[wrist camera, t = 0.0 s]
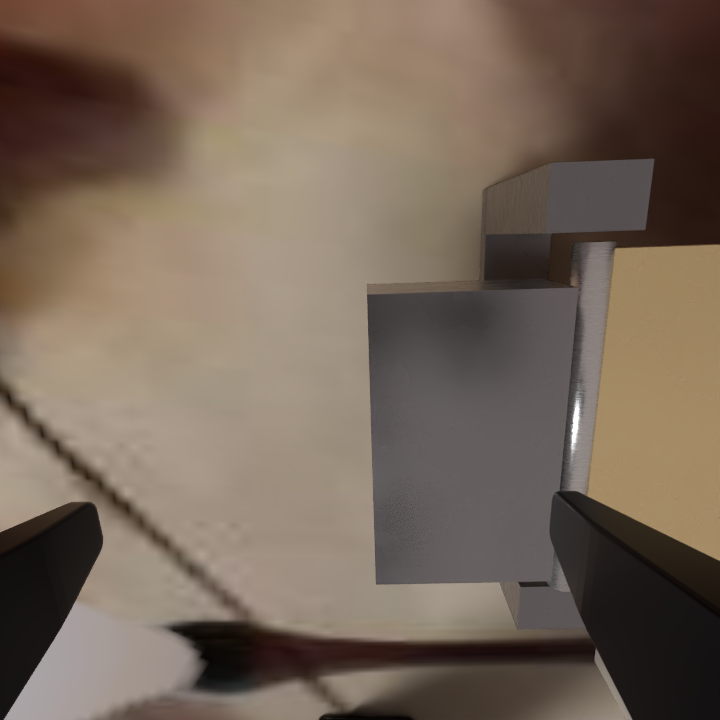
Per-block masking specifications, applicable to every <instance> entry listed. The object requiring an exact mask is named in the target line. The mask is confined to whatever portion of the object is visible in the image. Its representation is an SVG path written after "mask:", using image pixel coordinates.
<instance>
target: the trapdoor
mask: <svg viewBox="0 0 720 720" xmlns="http://www.w3.org/2000/svg"><path fill="white" fill-rule="evenodd" d="M616 245H617V241H591V242H573V247H572V258H571V270H570V281H569V285H566V284H562V283H558V282H554V281H550V280H546V279H512V280H482V281H452V282H423V283H393V284H367V303H368V336H369V369H370V402H371V435H372V468H373V501H374V533H375V566H376V584H429V583H483V582H537V581H546V583H547V584H548V585H549V586H551V587H552V588H554V589H556V590H559V591H563V592H570V589H569V586H568V584H567V581H566V579H565V576H564V573H563V571H562V568H561V566H560V563H559V560H558V558H557V555H556V552H555V550H554V547H553V545H552V542H551V538H550V532H549V527H550V516H551V504H552V497H553V494H554V493H555V492H557V491H578V492H580V493H582V494H584V495H586V496H588V497H590V498H592V499H594V500H596V501H598V502H600V503H602V504H604V505H607V506H609V507H611V508H613V509H615V510H617V511H619V512H621V513H623V514H625V515H627V516H629V517H631V518H633V519H635V520H637V521H639V522H641V523H643V524H645V525H647V526H649V527H652V528H654V529H656V530H658V531H660V532H662V533H664V534H666V535H668V536H670V537H672V538H674V539H676V540H678V541H680V542H682V543H684V544H686V545H688V546H690V547H692V548H694V549H697V550H699V551H701V552H703V553H705V554H707V555H709V556H711V557H713V558H715V559H717V560H719V561H720V244H696V245H667V246H639V247H616Z"/></svg>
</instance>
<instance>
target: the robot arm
mask: <svg viewBox="0 0 720 720" xmlns="http://www.w3.org/2000/svg"><path fill="white" fill-rule="evenodd" d="M549 532H550V538H551V542H552V545H553V547H554V550H555V552H556V555H557V558H558V560H559V563H560V566H561V568H562V571H563V573H564V576H565V579H566V581H567V584H568V586H569V589H570V592H571V594H572V597H573V600H574V602H575V605H576V607H577V610H578V612H579V614H580V617H581V619H582V621H583V623H584V625H585V627H586V629H587V631H588V633H589V635H590V637H591V639H592V641H593V643H594V645H595V647H596V649H597V651H598V653H599V655H600V657H601V659H602V661H603V663H604V665H605V667H606V669H607V671H608V673H609V675H610V677H611V679H612V681H613V683H614V685H615V687H616V689H617V691H618V693H619V695H620V697H621V699H622V701H623V703H624V704H625V706H626V708H627V710H628V712H629V714H630V716H631V718H632V720H720V561H719V560H717V559H715V558H713V557H711V556H709V555H707V554H705V553H703V552H701V551H699V550H697V549H694V548H692V547H690V546H688V545H686V544H684V543H682V542H680V541H678V540H676V539H674V538H672V537H670V536H668V535H666V534H664V533H662V532H660V531H658V530H656V529H654V528H652V527H649V526H647V525H645V524H643V523H641V522H639V521H637V520H635V519H633V518H631V517H629V516H627V515H625V514H623V513H621V512H619V511H617V510H615V509H613V508H611V507H609V506H607V505H604V504H602V503H600V502H598V501H596V500H594V499H592V498H590V497H588V496H586V495H584V494H582V493H580V492H578V491H557V492H555V493H554V494H553V497H552V504H551V516H550V527H549ZM102 545H103V535H102V530H101V525H100V521H99V516H98V512H97V508H96V506H95V504H93V503H92V502H71V503H68V504H65V505H63V506H61V507H58V508H56V509H54V510H51V511H49V512H47V513H44V514H42V515H40V516H37V517H35V518H33V519H30V520H28V521H26V522H23V523H21V524H19V525H16V526H14V527H12V528H9V529H7V530H5V531H2V532H0V720H4V718H5V717H6V715H7V714H8V712H9V710H10V709H11V707H12V706H13V704H14V702H15V701H16V699H17V698H18V696H19V694H20V693H21V691H22V690H23V688H24V686H25V685H26V683H27V682H28V680H29V679H30V677H31V675H32V674H33V672H34V671H35V669H36V667H37V666H38V664H39V663H40V661H41V659H42V658H43V656H44V654H45V653H46V651H47V650H48V648H49V647H50V645H51V643H52V642H53V640H54V639H55V637H56V635H57V634H58V632H59V630H60V629H61V627H62V625H63V623H64V622H65V619H66V618H67V616H68V614H69V612H70V610H71V609H72V607H73V605H74V603H75V601H76V599H77V597H78V595H79V593H80V591H81V589H82V587H83V585H84V583H85V581H86V579H87V577H88V575H89V573H90V571H91V569H92V567H93V565H94V563H95V561H96V559H97V557H98V556H99V554H100V551H101V549H102ZM320 720H412V719H410V718H366V719H320Z"/></svg>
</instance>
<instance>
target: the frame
mask: <svg viewBox="0 0 720 720" xmlns="http://www.w3.org/2000/svg"><path fill="white" fill-rule="evenodd" d="M653 167H654V159H634V160H608V161H583V162H557V163H549V164H546V165H544V166H541V167H539V168H536V169H534V170H531V171H529V172H526V173H524V174H521V175H519V176H516V177H514V178H511V179H509V180H506V181H504V182H501V183H499V184H496V185H494V186H491V187H489V188H486V189H484V190H483V201H482V229H481V257H480V281H482V280H512V279H546V280H548V272H549V258H550V245H551V233H574V232H602V231H630V230H645V229H646V221H647V214H648V206H649V198H650V190H651V182H652V175H653ZM499 583H500V585H501V588H502V591H503V593H504V596H505V598H506V601H507V604H508V606H509V609H510V611H511V614H512V617H513V619H514V622H515V624H516V627H517V629H570V628H586V627H585V625H584V623H583V621H582V619H581V617H580V614H579V612H578V610H577V607H576V605H575V602H574V600H573V597H572V594H571V592H563V591H559V590H556V589H554V588H552V587H551V586H549V585H548V584H547V583H546V581H537V582H499Z"/></svg>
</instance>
